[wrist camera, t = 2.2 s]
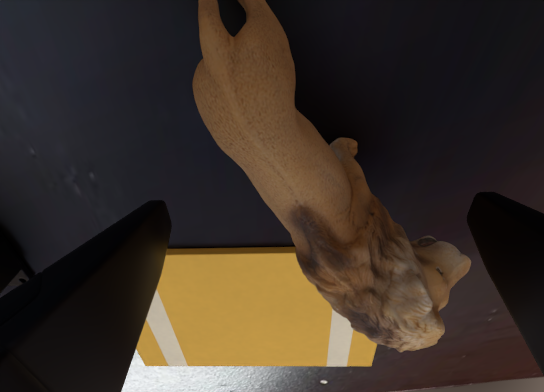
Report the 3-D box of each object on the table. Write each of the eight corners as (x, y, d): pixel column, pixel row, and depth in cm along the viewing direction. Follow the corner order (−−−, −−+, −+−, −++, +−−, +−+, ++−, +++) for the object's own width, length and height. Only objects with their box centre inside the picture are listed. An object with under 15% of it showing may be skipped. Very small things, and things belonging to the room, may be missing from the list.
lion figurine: (418, 180, 17) (525, 340, 9) (337, 229, 19) (372, 390, 12) (213, -93, 11) (68, -236, 3) (127, 25, 13) (-77, 95, 6)
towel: (147, 359, 29) (145, 366, 28) (88, 249, 21) (83, 256, 20) (369, 359, 28) (371, 366, 27) (399, 244, 20) (402, 251, 19)
